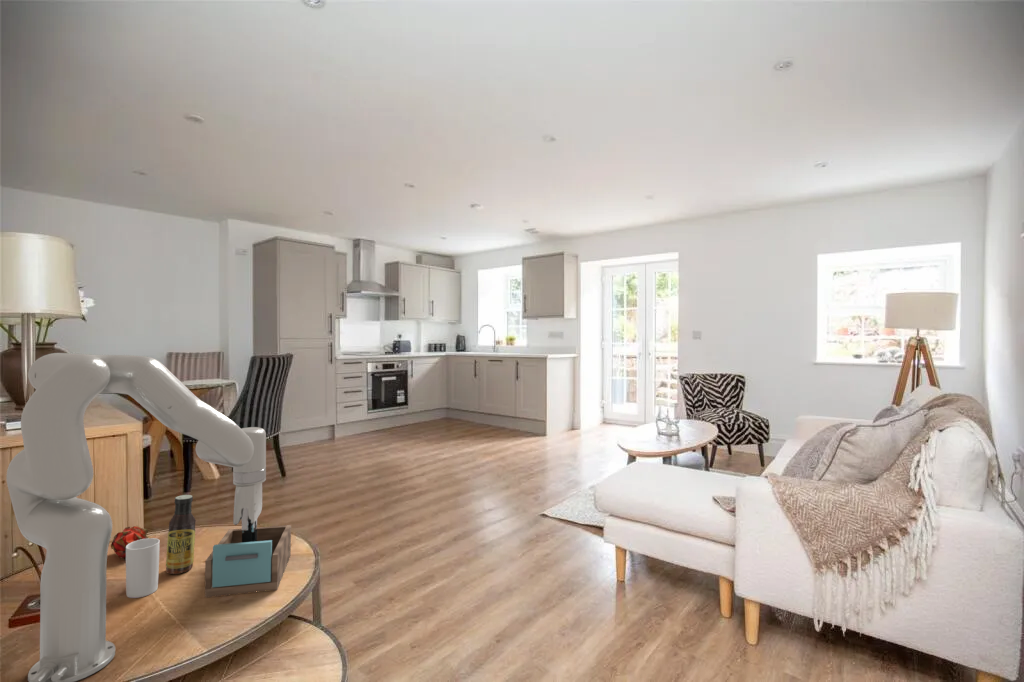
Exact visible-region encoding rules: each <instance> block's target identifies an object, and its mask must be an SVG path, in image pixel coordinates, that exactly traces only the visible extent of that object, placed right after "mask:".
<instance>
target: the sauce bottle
mask: <svg viewBox="0 0 1024 682" xmlns="http://www.w3.org/2000/svg"><path fill="white" fill-rule="evenodd" d="M193 498H194V497H193V495H191V494H182V495H179V496H176V497H174V504H175V505H174V506H175V507H174V514H173V515H172V517H171V519H170V520H169V523H168V532H167V540H166V541H167V543H166V559H165V570H166V573H167V574H169V575H180V574H183V572H184V573H186V572H189V571H190V570H191V569H192V568H193V567H194V559H195V543H196V542H195V541H196V539H195V538H196V521H197V520H196V518H195V517H194V515H193V514H192V503H193V500H194V499H193Z"/></svg>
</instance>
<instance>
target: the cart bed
mask: <svg viewBox="0 0 1024 682" xmlns="http://www.w3.org/2000/svg"><path fill="white" fill-rule="evenodd" d="M256 529H257V541H268V540H272V573H271V581H270V582H262V583H252V584H242V585H232V586H222V587H212V578H213V550H212V551H211V553H210V554H209V556H207V558H206V559H205V561H204V562H205V565H204V569H205V571H204V574H205V575H204V598H205V597H206V598H213V597H212V596H215V597H221V595H225V596H230V595H229V594H235V595H239V594H238V593H244V594H249V593H248V592H254V593H259V592H258V591H264V592H266V591H265V590H273V591H278V589H279V586H280V584H281V582H280V581H282V579H283V576H284V574H285V571H286V568H287V567H288V566H287V565H288V564H289V561H290V559H289V558H291V553H292V552H291V551H292V548H291V547H292V545H291V544H292V543H291V542H292V524H287V525H286V524H285V525H274V526H260V527H259V526H257V528H256ZM230 543H242V528H232V529H231V528H230V529H228V530H227V531H226V532H225V534H224V536H222V538H221V540H220V541H219V542H218V544H230ZM287 563H288V564H287ZM283 573H284V574H283ZM256 591H257V592H256Z"/></svg>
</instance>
